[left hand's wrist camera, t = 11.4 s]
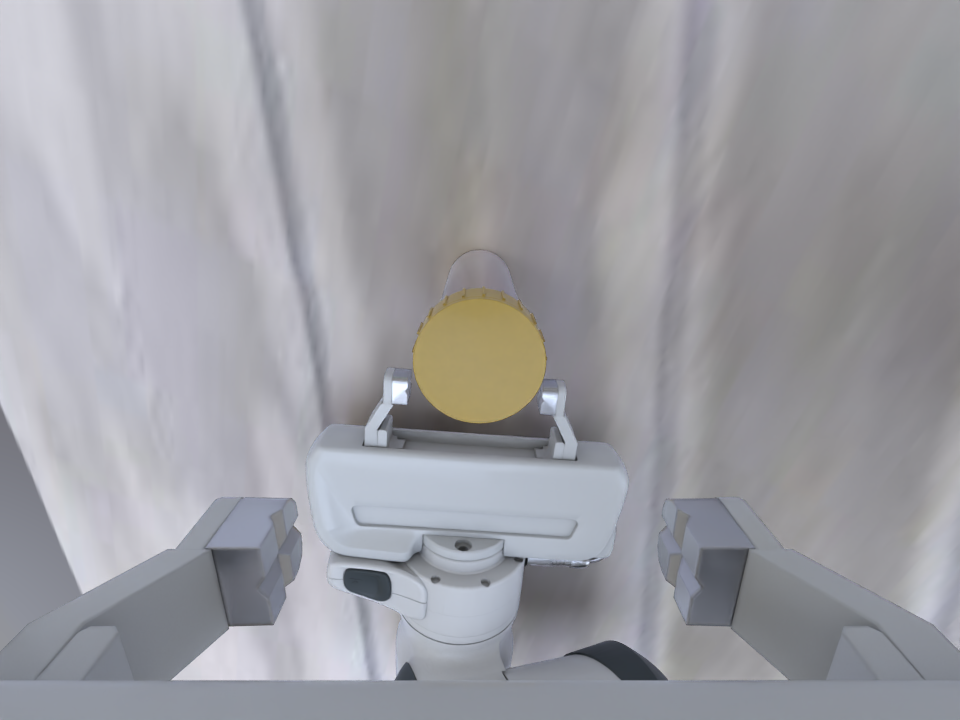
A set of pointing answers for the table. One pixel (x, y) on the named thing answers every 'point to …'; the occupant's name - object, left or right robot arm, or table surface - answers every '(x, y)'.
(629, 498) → the table surface
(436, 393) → the lid
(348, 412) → the table surface
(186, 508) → the table surface
